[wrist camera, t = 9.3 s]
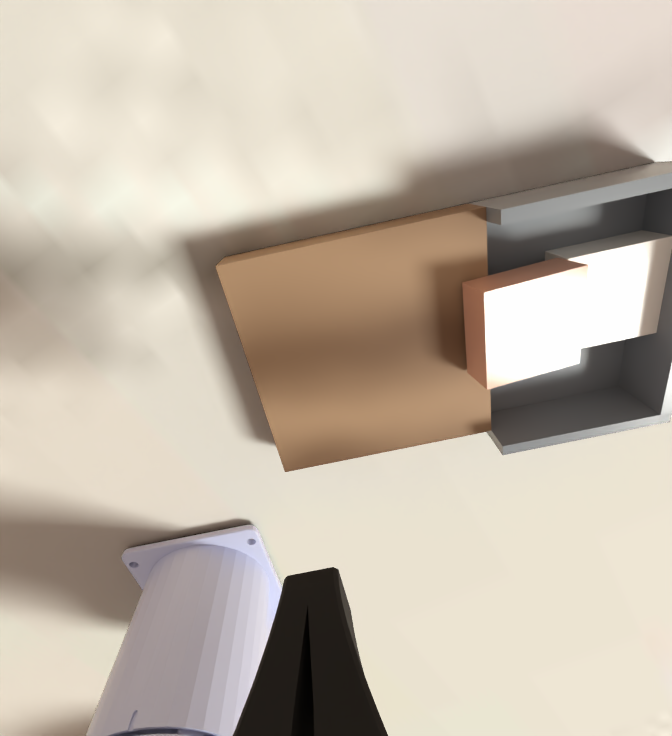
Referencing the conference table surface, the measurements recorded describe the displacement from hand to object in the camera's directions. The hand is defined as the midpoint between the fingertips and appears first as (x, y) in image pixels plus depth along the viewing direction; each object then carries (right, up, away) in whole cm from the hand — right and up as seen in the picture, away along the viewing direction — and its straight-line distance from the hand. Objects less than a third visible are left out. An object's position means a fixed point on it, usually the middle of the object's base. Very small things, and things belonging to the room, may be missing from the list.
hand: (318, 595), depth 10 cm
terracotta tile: (+8, +8, +6) cm, 12 cm away
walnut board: (+2, +7, +8) cm, 11 cm away
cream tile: (+12, +10, +7) cm, 16 cm away
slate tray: (+10, +9, +7) cm, 16 cm away
